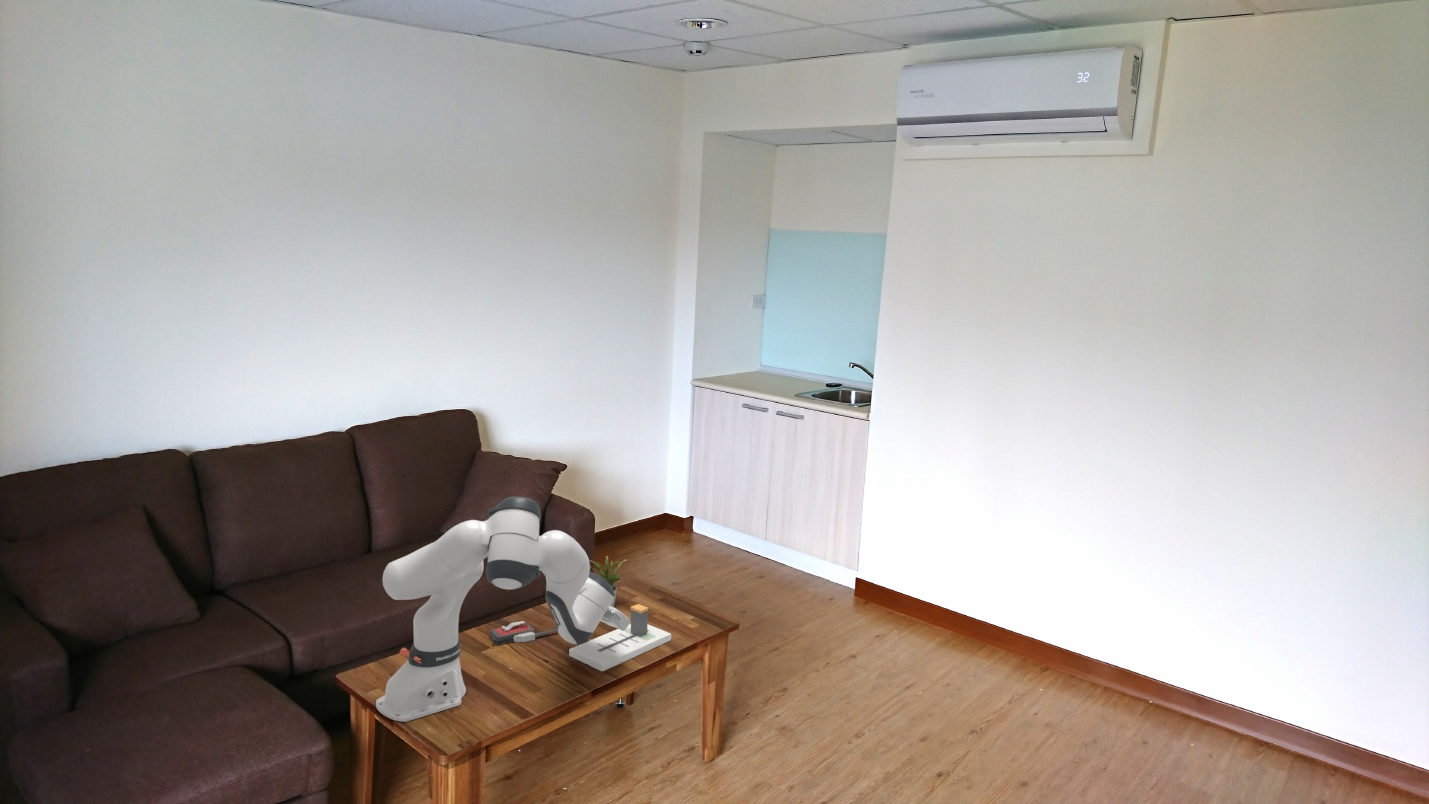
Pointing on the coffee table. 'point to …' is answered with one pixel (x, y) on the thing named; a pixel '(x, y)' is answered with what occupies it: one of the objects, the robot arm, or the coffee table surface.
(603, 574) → the house plant
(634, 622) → the fader knob
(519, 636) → the red and grey tool
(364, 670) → the coffee table surface
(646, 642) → the console
